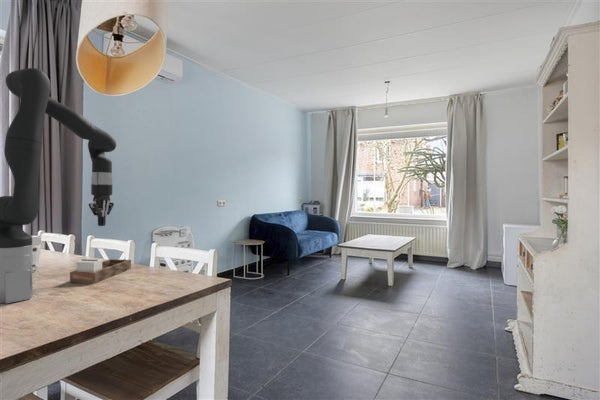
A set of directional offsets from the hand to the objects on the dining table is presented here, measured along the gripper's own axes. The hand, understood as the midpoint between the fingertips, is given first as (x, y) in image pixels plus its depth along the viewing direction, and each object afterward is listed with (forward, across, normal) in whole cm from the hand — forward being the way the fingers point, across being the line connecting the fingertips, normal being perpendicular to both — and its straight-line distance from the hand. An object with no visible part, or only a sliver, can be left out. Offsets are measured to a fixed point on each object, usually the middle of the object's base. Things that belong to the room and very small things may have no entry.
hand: (101, 225), depth 137 cm
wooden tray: (+21, -1, 0) cm, 21 cm away
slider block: (+19, +7, 0) cm, 20 cm away
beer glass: (+21, -4, -34) cm, 40 cm away
